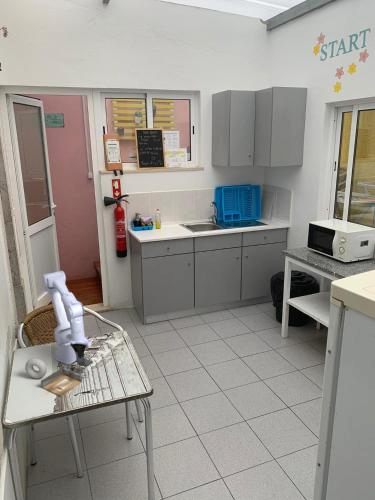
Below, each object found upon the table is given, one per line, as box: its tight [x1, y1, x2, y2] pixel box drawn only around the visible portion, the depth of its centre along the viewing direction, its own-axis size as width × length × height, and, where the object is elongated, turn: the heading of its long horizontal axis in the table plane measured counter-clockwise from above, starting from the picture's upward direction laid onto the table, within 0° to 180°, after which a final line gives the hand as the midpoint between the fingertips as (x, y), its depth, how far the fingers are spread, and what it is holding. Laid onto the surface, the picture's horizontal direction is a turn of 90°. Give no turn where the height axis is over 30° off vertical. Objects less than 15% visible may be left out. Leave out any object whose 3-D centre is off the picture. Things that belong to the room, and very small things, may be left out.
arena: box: [40, 366, 83, 397], centre depth 168 cm, size 12×12×4 cm
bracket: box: [75, 351, 94, 368], centre depth 174 cm, size 6×4×6 cm, turn 57°
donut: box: [24, 357, 48, 379], centre depth 173 cm, size 10×4×10 cm, turn 81°
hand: (80, 356), depth 175 cm, fingers closed on bracket
